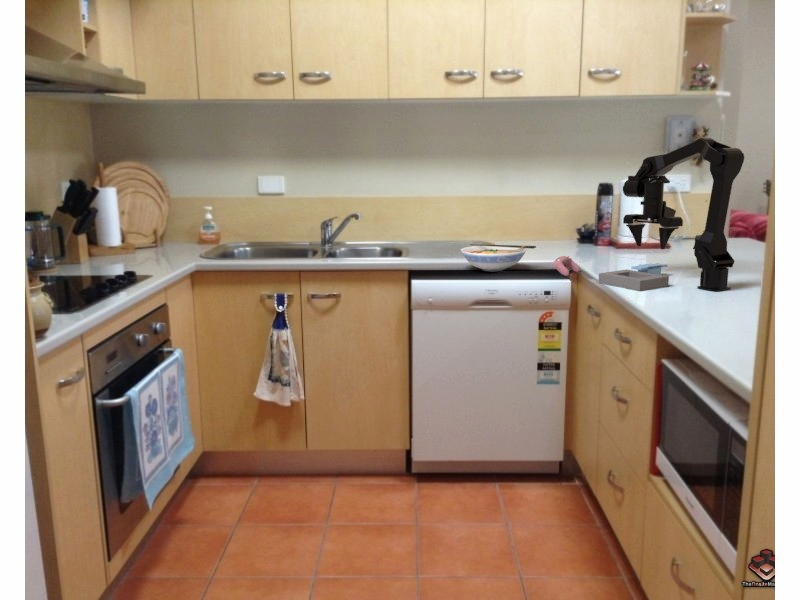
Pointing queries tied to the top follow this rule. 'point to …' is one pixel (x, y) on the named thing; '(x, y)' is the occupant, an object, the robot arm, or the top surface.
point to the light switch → (633, 280)
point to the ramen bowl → (494, 256)
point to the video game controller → (565, 265)
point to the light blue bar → (650, 268)
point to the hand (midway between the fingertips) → (650, 247)
